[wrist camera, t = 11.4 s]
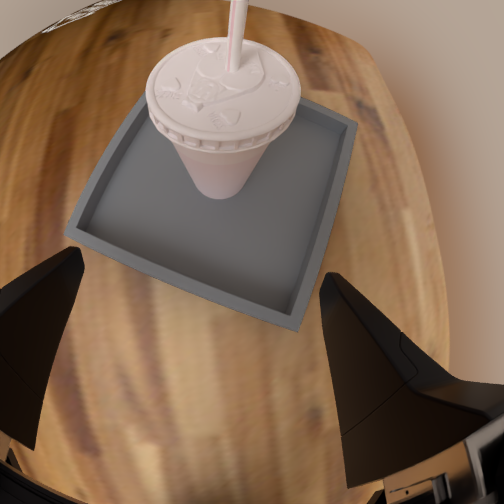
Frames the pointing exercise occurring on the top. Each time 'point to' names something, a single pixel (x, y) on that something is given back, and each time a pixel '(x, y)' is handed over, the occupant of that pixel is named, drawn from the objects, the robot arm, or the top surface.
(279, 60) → the smoothie
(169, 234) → the tray
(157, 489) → the top surface
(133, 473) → the top surface
